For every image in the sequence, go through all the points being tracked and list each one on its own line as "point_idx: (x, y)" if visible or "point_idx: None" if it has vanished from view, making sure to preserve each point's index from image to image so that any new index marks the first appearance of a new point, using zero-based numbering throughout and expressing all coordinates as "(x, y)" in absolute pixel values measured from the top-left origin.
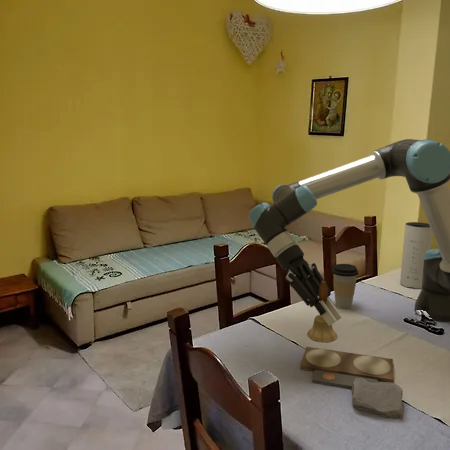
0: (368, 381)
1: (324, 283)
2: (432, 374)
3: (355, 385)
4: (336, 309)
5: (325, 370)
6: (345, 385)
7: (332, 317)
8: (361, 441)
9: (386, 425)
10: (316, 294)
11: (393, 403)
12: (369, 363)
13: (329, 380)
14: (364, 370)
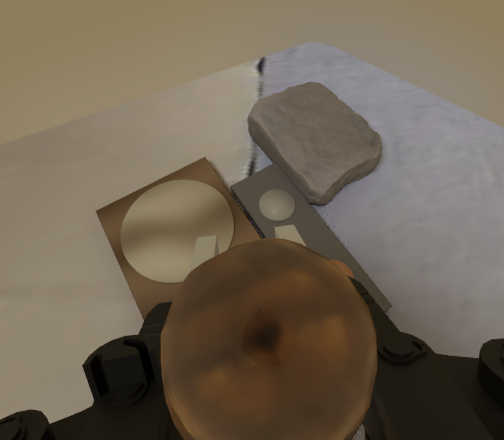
0: (257, 194)
1: (312, 256)
2: (98, 133)
3: (340, 172)
4: (198, 264)
5: None
6: (324, 223)
7: (299, 238)
8: (441, 107)
9: (359, 104)
10: (397, 427)
11: (321, 92)
12: (175, 234)
13: (346, 266)
14: (224, 222)
